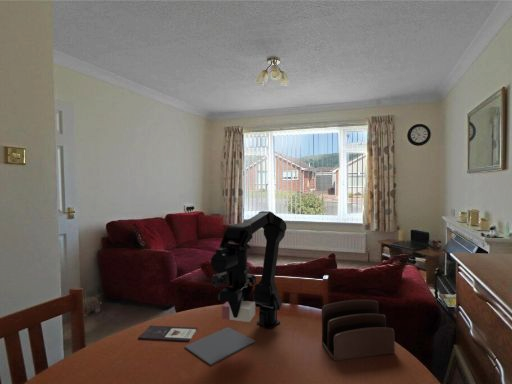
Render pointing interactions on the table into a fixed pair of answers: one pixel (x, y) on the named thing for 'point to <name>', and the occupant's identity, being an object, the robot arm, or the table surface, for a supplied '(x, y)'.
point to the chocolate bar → (168, 333)
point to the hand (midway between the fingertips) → (239, 313)
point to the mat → (219, 345)
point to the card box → (244, 314)
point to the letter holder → (355, 330)
